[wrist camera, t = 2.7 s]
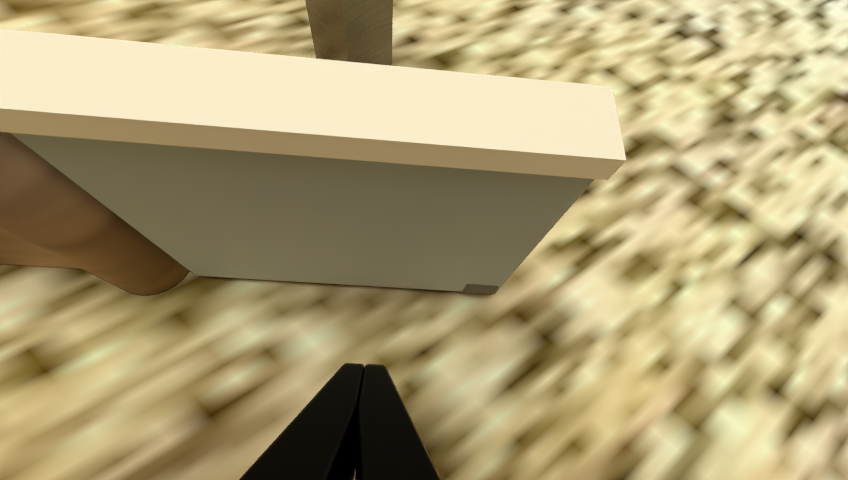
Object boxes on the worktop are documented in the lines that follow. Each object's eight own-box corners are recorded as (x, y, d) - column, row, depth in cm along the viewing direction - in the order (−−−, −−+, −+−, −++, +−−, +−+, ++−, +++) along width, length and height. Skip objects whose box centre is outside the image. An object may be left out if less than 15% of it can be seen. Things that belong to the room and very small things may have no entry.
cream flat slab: (195, 282, 16) (-50, 104, 7) (207, 239, 17) (-1, 28, 8) (496, 299, 17) (625, 160, 8) (494, 258, 17) (612, 86, 8)
